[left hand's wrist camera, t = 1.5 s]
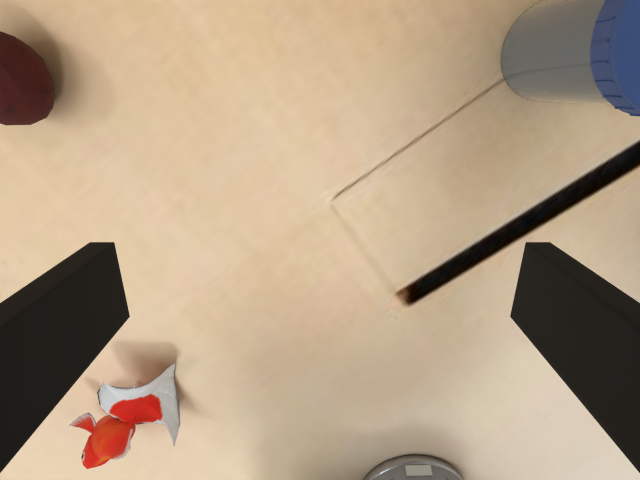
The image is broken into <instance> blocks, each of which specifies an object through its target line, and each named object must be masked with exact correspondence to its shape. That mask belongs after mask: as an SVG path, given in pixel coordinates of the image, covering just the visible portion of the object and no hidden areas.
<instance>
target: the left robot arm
mask: <svg viewBox="0 0 640 480" xmlns="http://www.w3.org/2000/svg"><path fill="white" fill-rule="evenodd" d="M129 317H130V316H129V311H128V306H127V301H126V297H125V292H124V287H123V282H122V278H121V273H120V268H119V263H118V258H117V254H116V249H115V244H114V242H90V243H88V244H87V245H86V246H84V247H83V248H81V249H80V250H78V251H77V252H75V253H74V254H72V255H71V256H69V257H68V258H66V259H65V260H63V261H62V262H60V263H59V264H57V265H56V266H55V267H53V268H52V269H50V270H49V271H47V272H46V273H44V274H43V275H41V276H40V277H38V278H37V279H35V280H34V281H32V282H31V283H29V284H28V285H26V286H25V287H23V288H22V289H21V290H19V291H18V292H16V293H15V294H13V295H12V296H10V297H9V298H7V299H6V300H4V301H3V302H1V303H0V473H1V471H2V470H3V469H4V468H5V467H6V465H7V464H8V463H9V462H10V461H11V459H12V458H13V457H14V456H15V455H16V453H17V452H18V451H19V450H20V448H21V447H22V446H23V445H24V444H25V442H26V441H27V440H28V439H29V438H30V436H31V435H32V434H33V433H34V432H35V430H36V429H37V428H38V427H39V426H40V424H41V423H42V422H43V421H44V419H45V418H46V417H47V416H48V415H49V413H50V412H51V411H52V410H53V409H54V407H55V406H56V405H57V404H58V403H59V401H60V400H61V399H62V398H63V397H64V395H65V394H66V393H67V392H68V390H69V389H70V388H71V387H72V386H73V384H74V383H75V382H76V381H77V380H78V378H79V377H80V376H81V375H82V374H83V372H84V371H85V370H86V369H87V368H88V366H89V365H90V364H91V363H92V362H93V360H94V359H95V358H96V357H97V355H98V354H99V353H100V352H101V351H102V349H103V348H104V347H105V346H106V345H107V343H108V342H109V341H110V340H111V339H112V337H113V336H114V335H115V334H116V333H117V331H118V330H119V329H120V328H121V326H122V325H123V324H124V323H125V322H126V320H127V319H128V318H129ZM510 317H511V318H512V319H513V320H514V322H515V323H516V324H517V325H518V326H519V328H520V329H521V330H522V331H523V333H524V334H525V335H526V336H527V337H528V339H529V340H530V341H531V342H532V343H533V345H534V346H535V347H536V348H537V349H538V351H539V352H540V353H541V354H542V355H543V357H544V358H545V359H546V360H547V362H548V363H549V364H550V365H551V366H552V368H553V369H554V370H555V371H556V372H557V374H558V375H559V376H560V377H561V378H562V380H563V381H564V382H565V383H566V384H567V386H568V387H569V388H570V389H571V390H572V392H573V393H574V394H575V395H576V397H577V398H578V399H579V400H580V401H581V403H582V404H583V405H584V406H585V407H586V409H587V410H588V411H589V412H590V413H591V415H592V416H593V417H594V418H595V419H596V421H597V422H598V423H599V424H600V426H601V427H602V428H603V429H604V430H605V432H606V433H607V434H608V435H609V436H610V438H611V439H612V440H613V441H614V442H615V444H616V445H617V446H618V447H619V448H620V450H621V451H622V452H623V453H624V455H625V456H626V457H627V458H628V459H629V461H630V462H631V463H632V464H633V465H634V467H635V468H636V469H637V470H638V471H639V473H640V303H639V302H637V301H636V300H634V299H633V298H631V297H630V296H628V295H627V294H625V293H624V292H622V291H621V290H619V289H618V288H617V287H615V286H614V285H612V284H611V283H609V282H608V281H606V280H605V279H603V278H602V277H600V276H599V275H597V274H596V273H594V272H593V271H591V270H590V269H588V268H587V267H585V266H584V265H583V264H581V263H580V262H578V261H577V260H575V259H574V258H572V257H571V256H569V255H568V254H566V253H565V252H563V251H562V250H560V249H559V248H557V247H556V246H554V245H553V244H552V243H550V242H526V244H525V249H524V254H523V258H522V263H521V268H520V273H519V278H518V282H517V287H516V292H515V297H514V301H513V306H512V311H511V316H510ZM364 480H463V479H462V477H461V475H460V474H459V472H458V471H457V470H456V469H455V468H454V467H453V466H451V465H450V464H448V463H447V462H445V461H443V460H440V459H437V458H434V457H429V456H422V455H410V456H403V457H398V458H394V459H391V460H389V461H386V462H384V463H382V464H380V465H379V466H377V467H376V468H374V469H373V470H372V471H371V472H370V473H369V474H368V475H367V476H366V477H365V479H364Z"/></svg>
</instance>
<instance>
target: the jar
mask: <svg viewBox="0 0 640 480" xmlns="http://www.w3.org/2000/svg"><path fill="white" fill-rule="evenodd" d="M604 2H605V0H546V1H543V2H541V3H538V4H536V5H534V6H533V7H531V8H529V9H528V10H527V11H525V12H524V13H523V14H522V15H521V16H520V17H519V18H518V19H517V20H516V21H515V23H514V24H513V25H512V27H511V29H510V30H509V32H508V34H507V36H506V38H505V41H504V44H503V48H502V53H501V67H502V72H503V76H504V78H505V81H506V83H507V84H508V86H509V87H510V88H511V89H512V90H513V91H514V92H515V93H516V94H517V95H519V96H521V97H523V98H526V99H529V100H536V101H551V102H567V103H583V104H598V105H612V104H611V103H609V102H608V101H607V100H606V99H605V98H603V95H602V94H601V92H600V91H599V89H598V87H597V85H596V83H594V81H595V80H594V78H593V74H592V70H591V65H590V45H591V44H590V42H591V39H592V33H593V30H594V26H595V21H596V20H597V17H598V15H599V12H600V10H601V8H602V6H603V4H604Z"/></svg>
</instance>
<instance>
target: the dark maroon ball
mask: <svg viewBox="0 0 640 480" xmlns="http://www.w3.org/2000/svg"><path fill="white" fill-rule="evenodd" d="M54 96H55V94H54V88H53V83H52V78H51V75H50V73H49V71H48V69H47V67H46V65H45V63H44V61H43V59H42V58H41V57H40V56H39V55H38V54H37V53H36V52H35V51H34V50H33V49H32V48H31V47H29V46H28V45H26V44H25V43H23V42H22V41H20V40H19V39H17V38H16V37H14V36H11V35H9V34H6V33H3V32H0V123H1V124H4V125H31V124H33V123H36V122H38V121H40V120H42V119H44V118H47V116H48V114H49V113H50V111H51V110H52V108H53V103H54Z"/></svg>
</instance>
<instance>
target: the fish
mask: <svg viewBox="0 0 640 480" xmlns="http://www.w3.org/2000/svg"><path fill="white" fill-rule="evenodd" d="M175 366H176V362H175V363H173V364H172V365H170V366H169V367H168V368H167V369H166V370H165V371H164V372H163V373H162V374H161V375H160V376H158V377H157V378H156V379H154V380H153V381H151V382H150V383H148V384H147V385H145V386H141V387H137V388H135V385H136V382H135V384H134V387H133V388H121V387H114V386H110V385H108V384H106V383H104V382H103V384H102V386H101V387H100V389H99V391H98V392H97V394H98V399H99V404H100V405H101V407H102V408H103V409H104V410H105V411H106V412H107V413H108V414H110V415H107V416H105V417H103V418H102V419H100V420H99V421H98V422H97V424H96V422H95V420H94V418H93V417H92V415H91V414H90V413H86V414H84V415H82V416H80V417H78V418H77V419H76V420H75V421H74V422H73V423H72V424H70V425H72V426H75V427H80V428H82V429H85V430H87V431H89V432H90V433H92V434H91V435H90V436H89V438H88V441H87V443H86V446H85V448H84V450H83V453H82V462H83V465H84V466H85V467H86V468H87V469H89V468H93V467H97V466H101V465H103V464H105V463H106V462H107V461H108V460H110V459H120V458H123V457H124V456H125V455H126V454H127V453H128V451H129V450H130V440H131V438H132V437H133V435H134V433H135V424H144V423H151V422H153V423H158V424H164V425H165V426H166V427H167V429H168V430H169V432H170V435H171V437H172V440H173V445H175V441H176V438H177V434H178V430H179V426H180V413H179V400H178V395H177V390H176V384H175V378H174V374H175Z"/></svg>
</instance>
